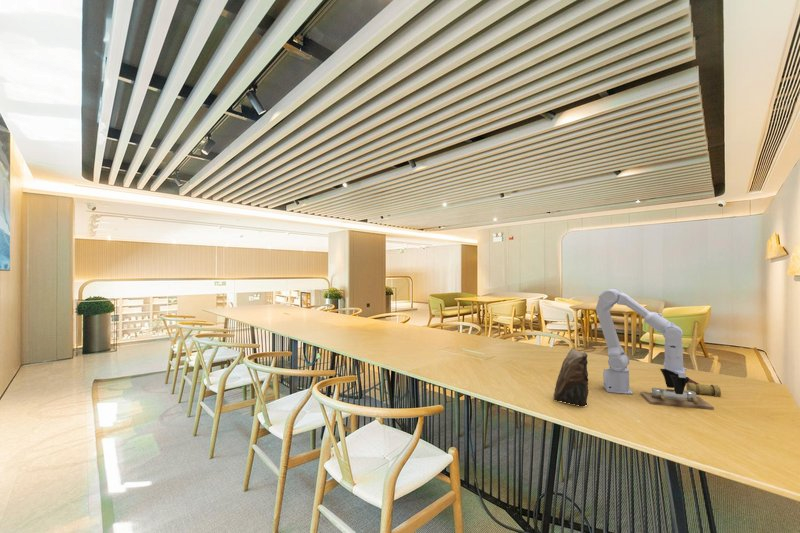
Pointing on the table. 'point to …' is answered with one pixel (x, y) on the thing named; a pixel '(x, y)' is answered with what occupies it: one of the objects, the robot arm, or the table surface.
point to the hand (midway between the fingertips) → (674, 390)
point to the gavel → (703, 388)
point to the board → (677, 402)
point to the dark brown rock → (573, 379)
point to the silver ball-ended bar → (673, 394)
